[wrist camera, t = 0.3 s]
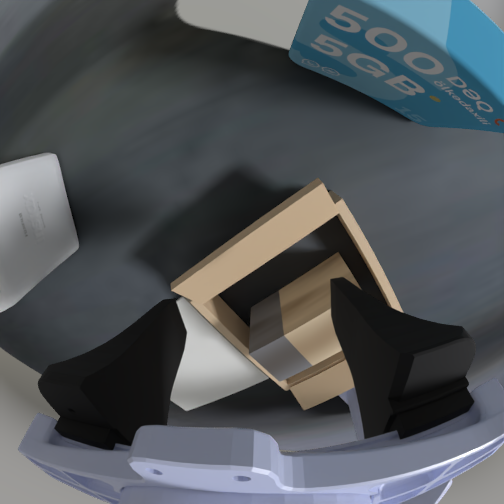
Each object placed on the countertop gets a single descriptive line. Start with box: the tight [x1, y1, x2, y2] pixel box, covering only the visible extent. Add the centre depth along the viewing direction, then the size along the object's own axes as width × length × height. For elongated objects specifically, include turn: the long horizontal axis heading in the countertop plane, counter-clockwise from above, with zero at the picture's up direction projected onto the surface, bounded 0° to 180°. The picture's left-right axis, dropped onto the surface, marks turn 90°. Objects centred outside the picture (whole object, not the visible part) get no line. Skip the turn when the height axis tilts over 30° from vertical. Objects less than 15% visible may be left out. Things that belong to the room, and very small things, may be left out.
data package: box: [289, 0, 504, 133], centre depth 11 cm, size 12×4×12 cm, turn 71°
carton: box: [171, 178, 403, 410], centre depth 22 cm, size 18×13×5 cm
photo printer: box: [0, 153, 79, 312], centre depth 15 cm, size 10×4×12 cm, turn 8°
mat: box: [170, 296, 269, 411], centre depth 27 cm, size 13×13×1 cm
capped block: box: [249, 252, 361, 382], centre depth 21 cm, size 4×9×6 cm, turn 127°
